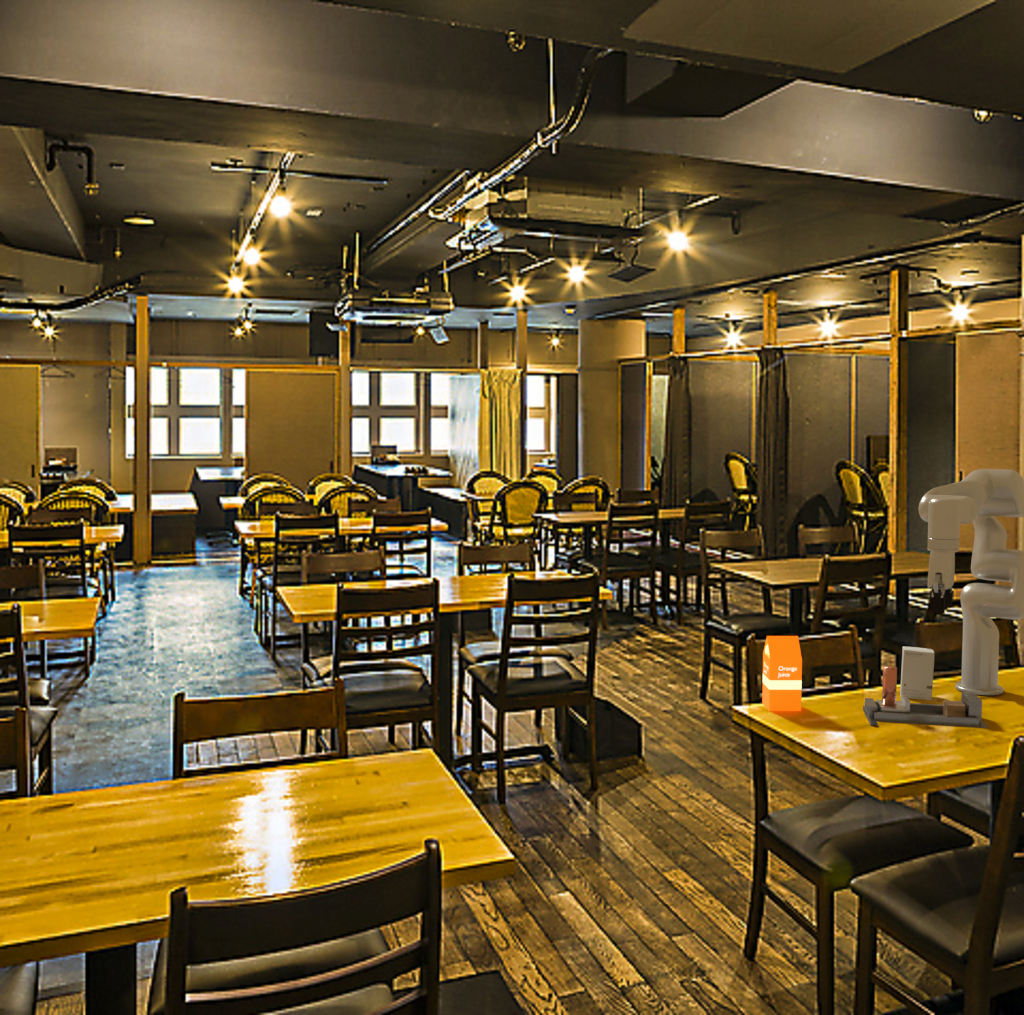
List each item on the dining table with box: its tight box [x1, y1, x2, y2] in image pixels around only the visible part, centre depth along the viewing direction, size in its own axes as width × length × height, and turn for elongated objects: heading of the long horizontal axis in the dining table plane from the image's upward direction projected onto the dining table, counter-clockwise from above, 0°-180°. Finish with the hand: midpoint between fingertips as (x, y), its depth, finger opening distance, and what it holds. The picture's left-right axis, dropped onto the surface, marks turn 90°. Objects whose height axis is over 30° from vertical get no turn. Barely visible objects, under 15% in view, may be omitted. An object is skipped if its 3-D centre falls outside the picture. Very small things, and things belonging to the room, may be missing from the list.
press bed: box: [862, 691, 989, 729], centre depth 242 cm, size 14×28×7 cm, turn 77°
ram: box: [876, 665, 911, 714], centre depth 243 cm, size 8×7×12 cm
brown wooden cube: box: [942, 699, 966, 717], centre depth 240 cm, size 4×4×4 cm
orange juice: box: [761, 635, 803, 712], centre depth 255 cm, size 8×9×20 cm
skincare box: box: [899, 646, 935, 701], centre depth 261 cm, size 8×6×15 cm
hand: (941, 609), depth 242 cm, fingers open, 9 cm apart
